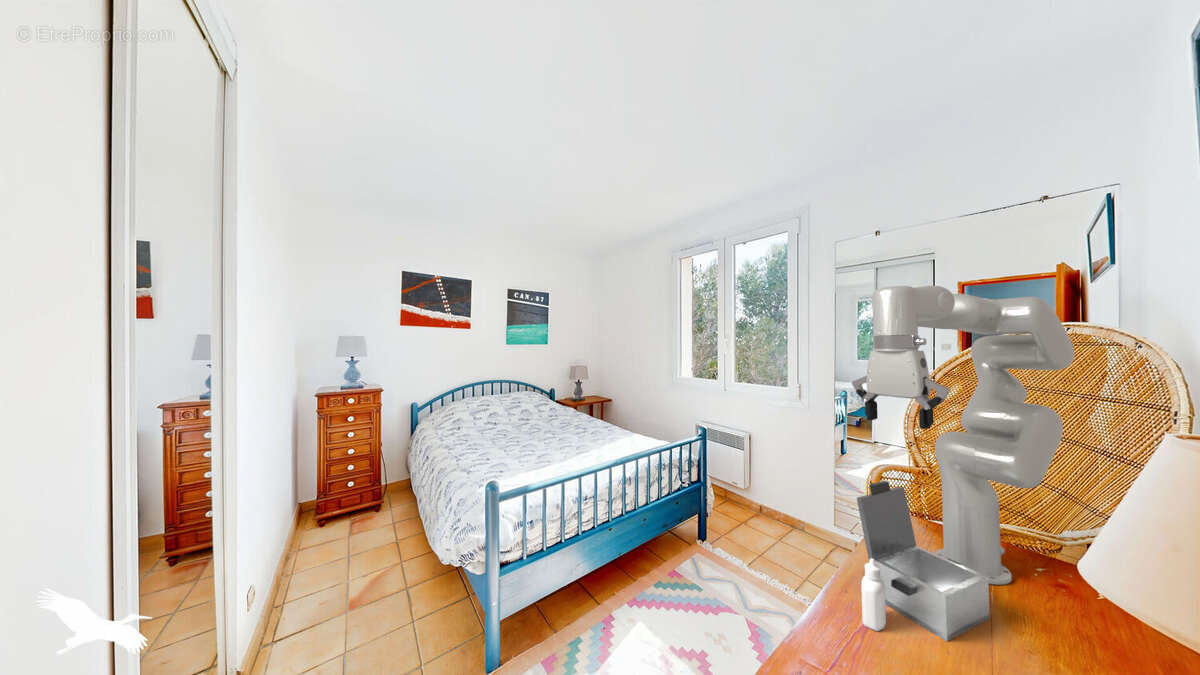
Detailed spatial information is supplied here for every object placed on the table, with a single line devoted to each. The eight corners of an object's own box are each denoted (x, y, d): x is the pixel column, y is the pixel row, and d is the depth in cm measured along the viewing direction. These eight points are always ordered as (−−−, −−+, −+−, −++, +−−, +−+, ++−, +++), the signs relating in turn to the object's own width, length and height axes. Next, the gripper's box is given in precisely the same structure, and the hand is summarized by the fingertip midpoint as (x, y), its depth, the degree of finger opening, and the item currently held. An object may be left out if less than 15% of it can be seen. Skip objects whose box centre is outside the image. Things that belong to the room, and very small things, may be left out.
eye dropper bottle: (897, 628, 69) (895, 563, 69) (872, 633, 68) (870, 568, 68) (875, 611, 74) (873, 551, 74) (851, 616, 72) (850, 554, 73)
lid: (916, 546, 82) (911, 545, 83) (901, 478, 85) (897, 477, 86) (873, 562, 77) (868, 560, 78) (859, 488, 80) (854, 488, 81)
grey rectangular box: (923, 578, 83) (922, 543, 83) (996, 615, 72) (994, 574, 72) (868, 601, 76) (867, 562, 76) (938, 645, 65) (937, 600, 65)
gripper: (955, 343, 73) (958, 429, 73) (860, 344, 89) (862, 415, 88) (938, 344, 70) (941, 434, 70) (843, 344, 85) (844, 418, 85)
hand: (897, 423), depth 79 cm, fingers open, 9 cm apart
